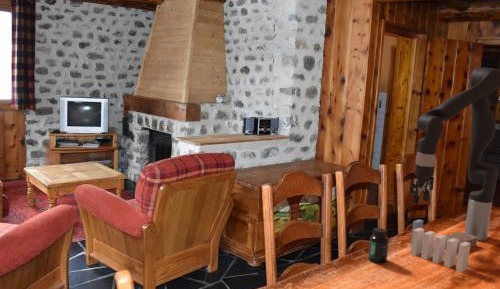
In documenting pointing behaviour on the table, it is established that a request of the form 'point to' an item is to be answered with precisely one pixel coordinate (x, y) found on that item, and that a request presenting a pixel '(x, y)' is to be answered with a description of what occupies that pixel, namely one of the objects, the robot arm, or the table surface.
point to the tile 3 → (428, 245)
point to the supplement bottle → (378, 246)
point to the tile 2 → (417, 241)
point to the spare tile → (416, 226)
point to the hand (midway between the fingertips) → (420, 202)
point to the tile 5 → (451, 252)
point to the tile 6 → (463, 256)
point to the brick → (462, 239)
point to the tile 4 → (439, 248)
